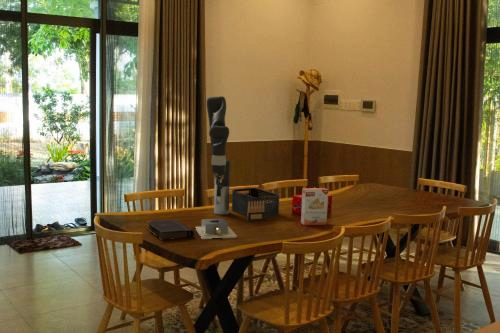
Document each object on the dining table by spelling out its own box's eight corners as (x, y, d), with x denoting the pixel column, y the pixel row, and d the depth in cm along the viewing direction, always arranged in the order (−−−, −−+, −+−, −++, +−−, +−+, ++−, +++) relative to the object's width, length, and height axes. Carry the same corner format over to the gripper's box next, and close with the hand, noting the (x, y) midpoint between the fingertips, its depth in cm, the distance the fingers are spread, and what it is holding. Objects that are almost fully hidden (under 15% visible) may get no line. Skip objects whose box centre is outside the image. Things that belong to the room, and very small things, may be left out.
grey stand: (195, 228, 309) (195, 218, 308) (227, 227, 313) (227, 217, 312) (202, 239, 288) (202, 228, 287) (236, 237, 292) (236, 227, 291)
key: (213, 203, 303) (213, 180, 301) (220, 202, 304) (221, 179, 302) (214, 204, 299) (215, 181, 298) (222, 204, 300) (222, 181, 299)
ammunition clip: (247, 221, 329) (248, 201, 327) (246, 220, 331) (247, 200, 329) (264, 220, 333) (265, 200, 331) (263, 219, 334) (264, 199, 333)
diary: (177, 227, 313) (177, 218, 313) (194, 238, 291) (194, 229, 291) (144, 230, 305) (145, 221, 304) (159, 241, 283) (159, 231, 282)
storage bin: (281, 216, 346) (281, 194, 344) (255, 219, 335) (255, 197, 333) (254, 207, 369) (254, 187, 367) (229, 210, 358) (229, 189, 356)
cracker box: (304, 226, 321) (305, 189, 318) (300, 223, 327) (301, 188, 324) (327, 225, 325) (328, 189, 322) (323, 222, 331) (324, 187, 328)
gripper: (209, 162, 305) (208, 193, 307) (214, 165, 291) (213, 198, 293) (222, 162, 307) (221, 193, 309) (228, 165, 293) (227, 198, 295)
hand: (217, 195), depth 301 cm, fingers closed on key, 3 cm apart
